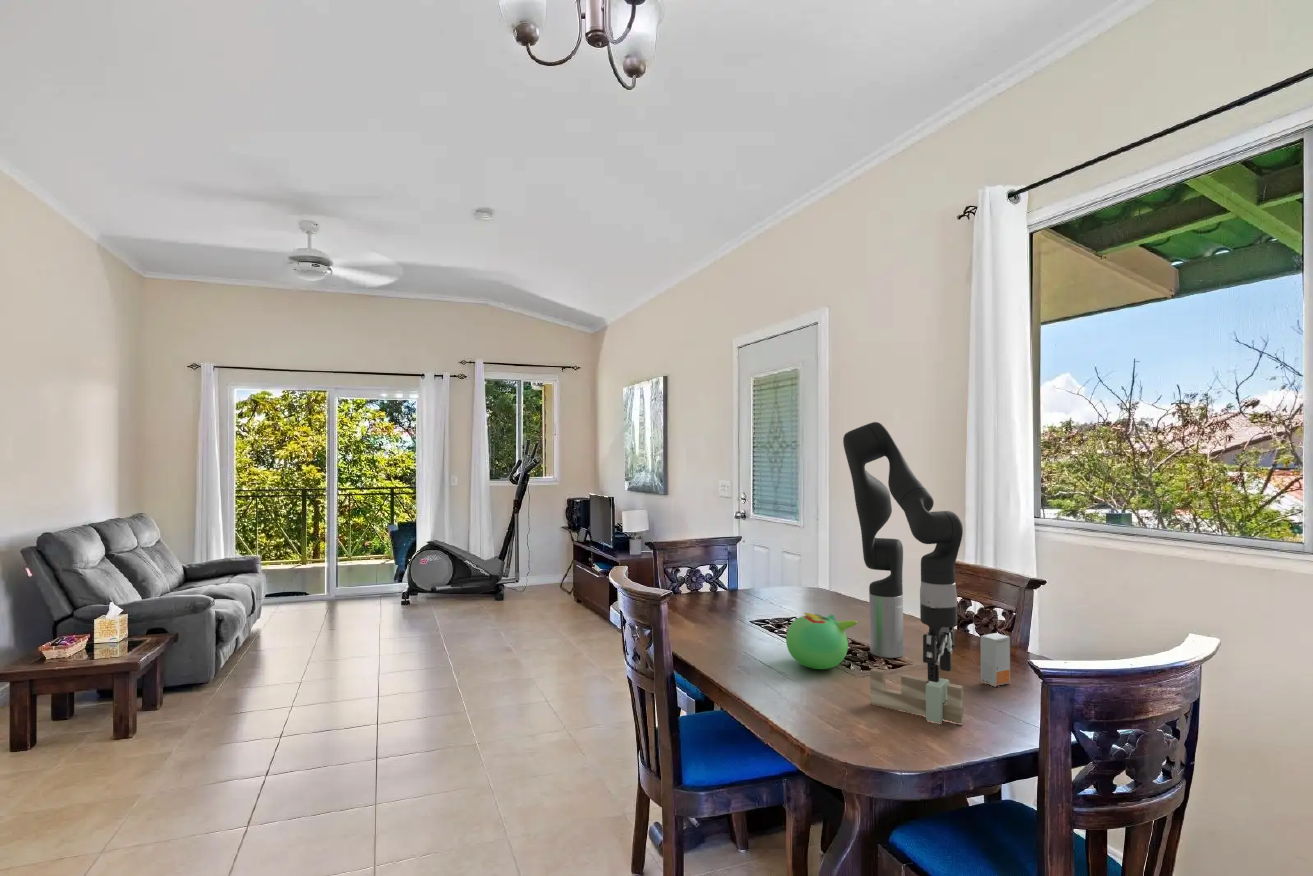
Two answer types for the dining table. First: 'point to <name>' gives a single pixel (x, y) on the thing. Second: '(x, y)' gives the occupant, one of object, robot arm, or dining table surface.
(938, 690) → the notched block
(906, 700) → the maple board
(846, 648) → the toy bird
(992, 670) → the skincare box
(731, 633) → the dining table surface
